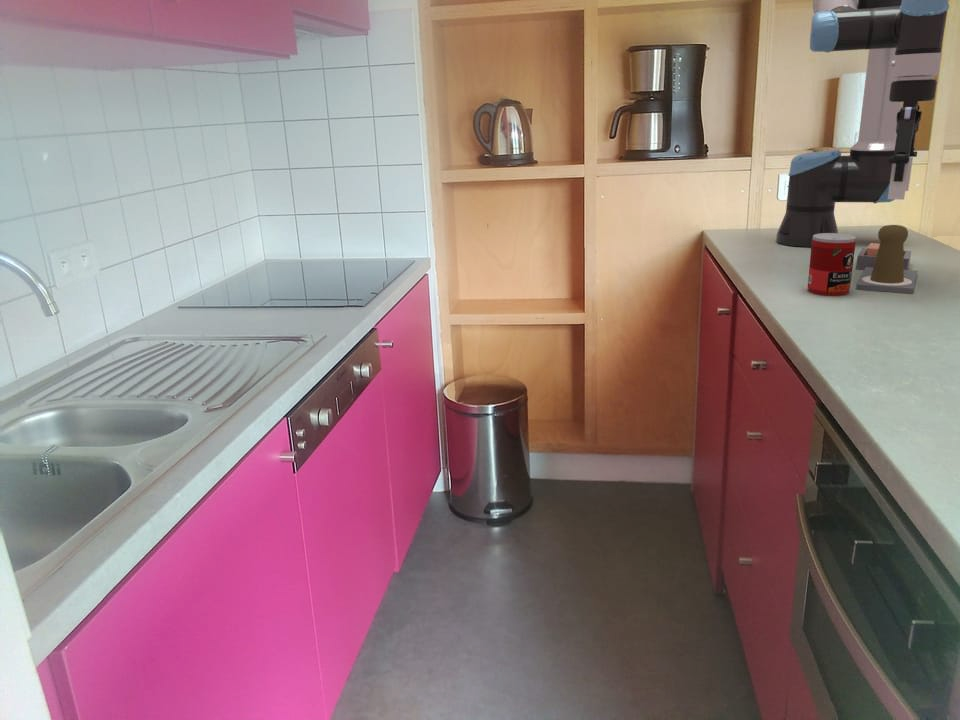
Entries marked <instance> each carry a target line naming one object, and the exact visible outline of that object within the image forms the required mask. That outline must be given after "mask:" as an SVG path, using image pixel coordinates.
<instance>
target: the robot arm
mask: <svg viewBox="0 0 960 720" xmlns="http://www.w3.org/2000/svg"><path fill="white" fill-rule="evenodd" d="M949 2H950V1H949V0H813V3H812V10H813V15H812V17H811V24H810V25H811V26H810V34H809V35H810V36H809V49H810V51H811V52H817V53H819V52H820V53H822V52H823V53H830V52H842V51H843V52H844V51H845V52H847V51H857V50H861V51H862V50H868V55H867V61H866V62H867V66H866V72H865V82H864V87H863V89H864V90H863V97H862V107H861V116H860V122H859V131H858V139H857V141H856V143H854V144H852V146H851V147H850V150H849V151H850V152H849V155H842V153H841V150H839V149H829V150H820V151H813V152H806V153H802V154H798V155H795V156H794V157H792V159H791V161H790V168H789V173H788V177H789V179H788V187H787V196H786V197H787V198H786V207H785V208H786V209H785V214H784V216H783V218H782V221H781V223H780V226H779V228H778V230H777V233H776V240H775V241H776V243H778V244H780V245H785V246H793V247H800V248H801V247H803V248H805V247H806V248H809V247H810V248H811V245H812V238H813V235H815V234H821V233H839V230H838V226H837V222H836V217H835V206H836V203H873V204H877V203H892V202H893V201H895V200H903V201H904V200H905V195H906V192H908V191H909V187H910V182H911V173H912V166H913V160H914V158H915V157H917V156H918V151H916V149H915V142H916V133H917V132H918V131H919V126H920V122H921V119H922V113H923V111H922V110H921V111H920V109H921V107H920V105H919V102H928V101H929V102H930V101H933V100H934V99H935V96H936V90H937V83H938V81H937V80H936V79H935V77H937V76H938V75H939V72H940V65H941V59H942V58H941V57H942V47H943V42H944V41H943V39H944V35H945V34H944V33H945V27H946V21H947V17H948V15H947V14H948V11H949V7H950V4H949ZM902 103H903V104H902Z"/></svg>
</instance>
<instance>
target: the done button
mask: <svg viewBox="0 0 960 720" xmlns="http://www.w3.org/2000/svg"><path fill="white" fill-rule="evenodd" d="M879 245H880V243H876V242H875V243H873V242H871V243H869V245H868V246H867V254H866V255H867V256H877V253H878V249H879Z"/></svg>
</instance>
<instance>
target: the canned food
mask: <svg viewBox="0 0 960 720" xmlns="http://www.w3.org/2000/svg"><path fill="white" fill-rule="evenodd" d="M856 239H857V237H856V236H855V235H852V234H847V233H841V232H838V233H821V234H815V235H813V238H812V245H811V247H810V248H811V249H810V257H809V268H808V277H807V289H808V291H809V292H810V293H812V294H814V295H821V296H831V297H833V296H836V297H838V296H844V295H847V294H849V292H850V290H851V283H852V275H853V268H854V258H855V252H856V251H855V250H856V241H857V240H856Z"/></svg>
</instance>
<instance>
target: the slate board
mask: <svg viewBox="0 0 960 720" xmlns="http://www.w3.org/2000/svg"><path fill="white" fill-rule="evenodd" d="M872 271H873V268H871V267H865V269H864V270H863V271H862V273H861V274H860V277H859V279H858V281H857V282H856V284H855V290H861V291H862V290H863V291H873V292H874V291H875V292H887V293H898V294H899V293H900V294H914V290H915V286H916V281H917V278H918V272H919V271H918V269H917V270H915V269H914V270H913V269H908V270H904V282H902V283H893V284H890V283H879V282H874V281H872V280H870V278H871V274H872Z"/></svg>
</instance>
